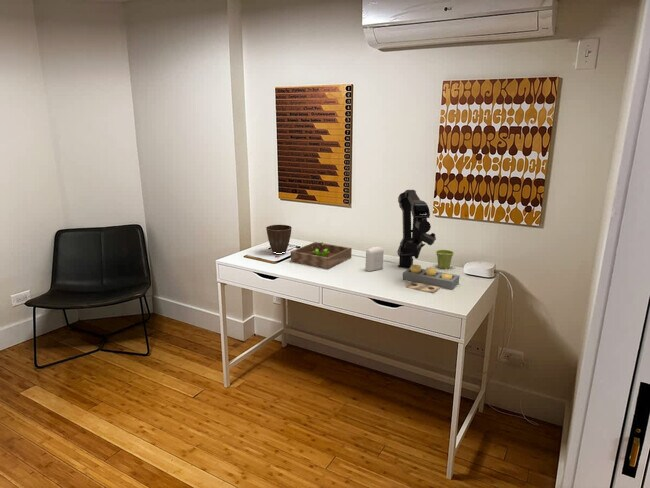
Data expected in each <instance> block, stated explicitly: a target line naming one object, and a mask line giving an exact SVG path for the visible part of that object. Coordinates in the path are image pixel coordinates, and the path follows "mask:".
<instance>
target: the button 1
mask: <svg viewBox="0 0 650 488" xmlns="http://www.w3.org/2000/svg"><path fill="white" fill-rule="evenodd" d="M421 269H422V266H421V265H419V264H413V265H411V271H410V272H412V273H417V274H419V273H421Z"/></svg>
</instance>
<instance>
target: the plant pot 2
mask: <svg viewBox="0 0 650 488" xmlns="http://www.w3.org/2000/svg"><path fill="white" fill-rule="evenodd" d="M454 253H455V252H454V251H452V250H447V249H439V250H436V251H435V254H436V257H437V259H436V260H437V267H438V269H444V270H446V269H447V270H448V269H450V267H451V264H452V259H453V256H454Z"/></svg>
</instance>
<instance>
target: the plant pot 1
mask: <svg viewBox="0 0 650 488" xmlns="http://www.w3.org/2000/svg"><path fill="white" fill-rule="evenodd" d="M265 230H266V234H267V236H266V237H267V239H268V243H269V246H270V250H271V252H272V255H276V256H282V255H285V254H286V253H287V250H288V247H289V244H290V240H291V234H292V226H291V225H287V224H272V225H268V226H266V227H265ZM273 252H276V253H282V252H285V253H282V254H276V253H273Z"/></svg>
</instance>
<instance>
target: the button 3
mask: <svg viewBox="0 0 650 488" xmlns="http://www.w3.org/2000/svg"><path fill="white" fill-rule="evenodd" d="M444 273H445V274H442V277H441V278H444V279H449V280H451V279H452V275H451V274H452V273H449V274H447V272H444Z"/></svg>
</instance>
